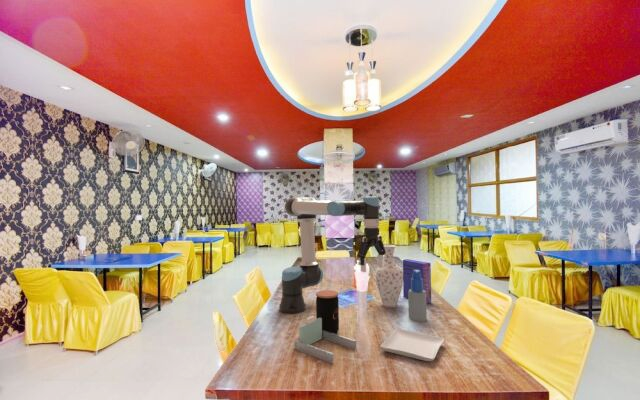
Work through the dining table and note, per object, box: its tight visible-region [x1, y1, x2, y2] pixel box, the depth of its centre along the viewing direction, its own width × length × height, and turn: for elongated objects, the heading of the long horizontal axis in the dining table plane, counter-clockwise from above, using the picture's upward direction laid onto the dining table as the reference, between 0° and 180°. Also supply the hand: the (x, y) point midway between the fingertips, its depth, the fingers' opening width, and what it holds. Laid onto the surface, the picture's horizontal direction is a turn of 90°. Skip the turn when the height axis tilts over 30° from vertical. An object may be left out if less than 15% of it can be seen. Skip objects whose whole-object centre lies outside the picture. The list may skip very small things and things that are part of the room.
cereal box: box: [402, 259, 432, 305], centre depth 199 cm, size 17×5×24 cm, turn 34°
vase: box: [375, 244, 403, 308], centre depth 189 cm, size 16×16×35 cm
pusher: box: [298, 315, 323, 345], centre depth 138 cm, size 1×13×11 cm, turn 139°
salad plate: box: [379, 328, 445, 362], centre depth 132 cm, size 21×21×3 cm
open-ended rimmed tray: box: [294, 330, 357, 365], centre depth 132 cm, size 20×16×4 cm
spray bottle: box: [407, 270, 428, 323], centre depth 166 cm, size 9×9×25 cm
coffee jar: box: [315, 289, 340, 334], centre depth 151 cm, size 11×11×18 cm
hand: (372, 269), depth 160 cm, fingers open, 13 cm apart
